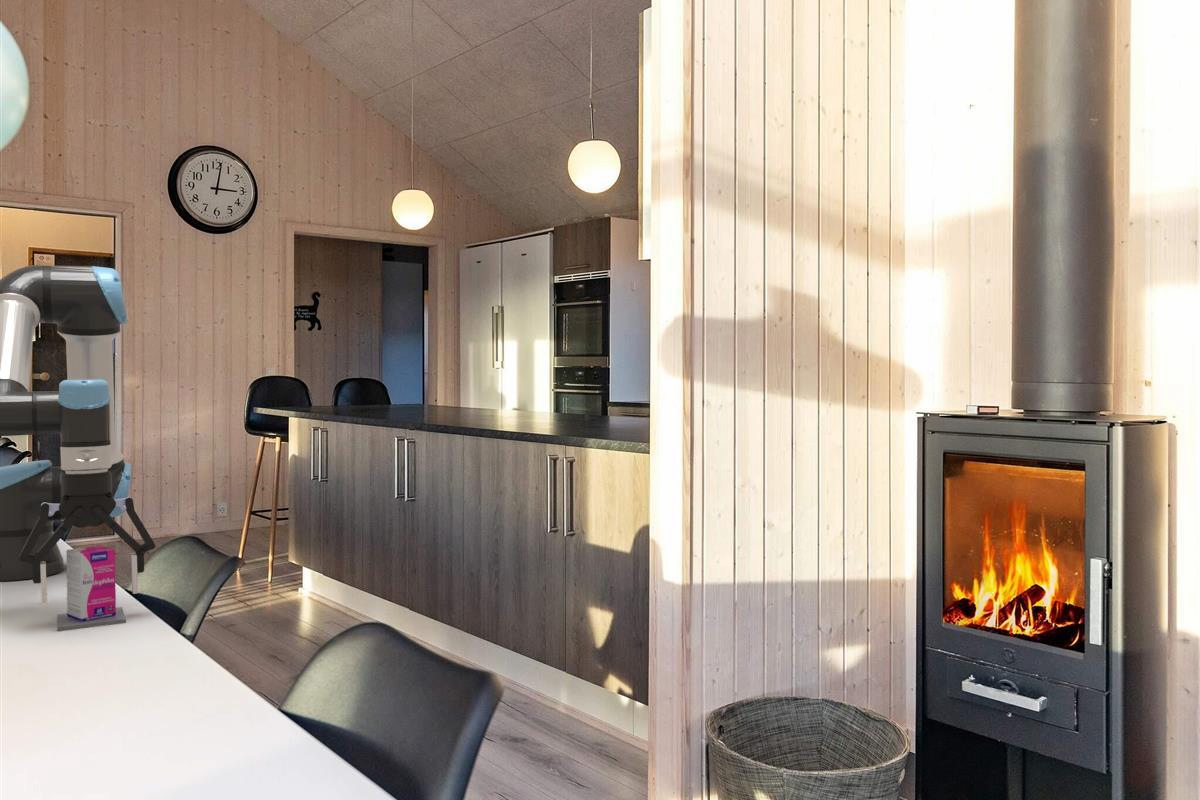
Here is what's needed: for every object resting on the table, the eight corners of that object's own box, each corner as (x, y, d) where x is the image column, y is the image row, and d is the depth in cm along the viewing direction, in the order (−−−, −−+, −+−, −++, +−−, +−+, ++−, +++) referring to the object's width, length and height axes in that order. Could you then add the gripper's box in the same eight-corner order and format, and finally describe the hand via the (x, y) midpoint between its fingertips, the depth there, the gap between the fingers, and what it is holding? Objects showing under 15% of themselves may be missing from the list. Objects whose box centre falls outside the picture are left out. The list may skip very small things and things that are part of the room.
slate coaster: (57, 617, 167) (56, 614, 167) (122, 610, 172) (122, 606, 172) (57, 631, 158) (57, 627, 158) (126, 622, 163) (125, 618, 163)
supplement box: (81, 622, 161) (79, 553, 160) (66, 617, 165) (64, 549, 164) (117, 615, 165) (115, 548, 165) (102, 610, 169) (100, 544, 169)
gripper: (-2, 478, 155) (3, 611, 155) (169, 468, 167) (173, 592, 168) (0, 474, 161) (4, 602, 162) (165, 465, 173) (168, 584, 174)
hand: (90, 597), depth 165 cm, fingers open, 13 cm apart
